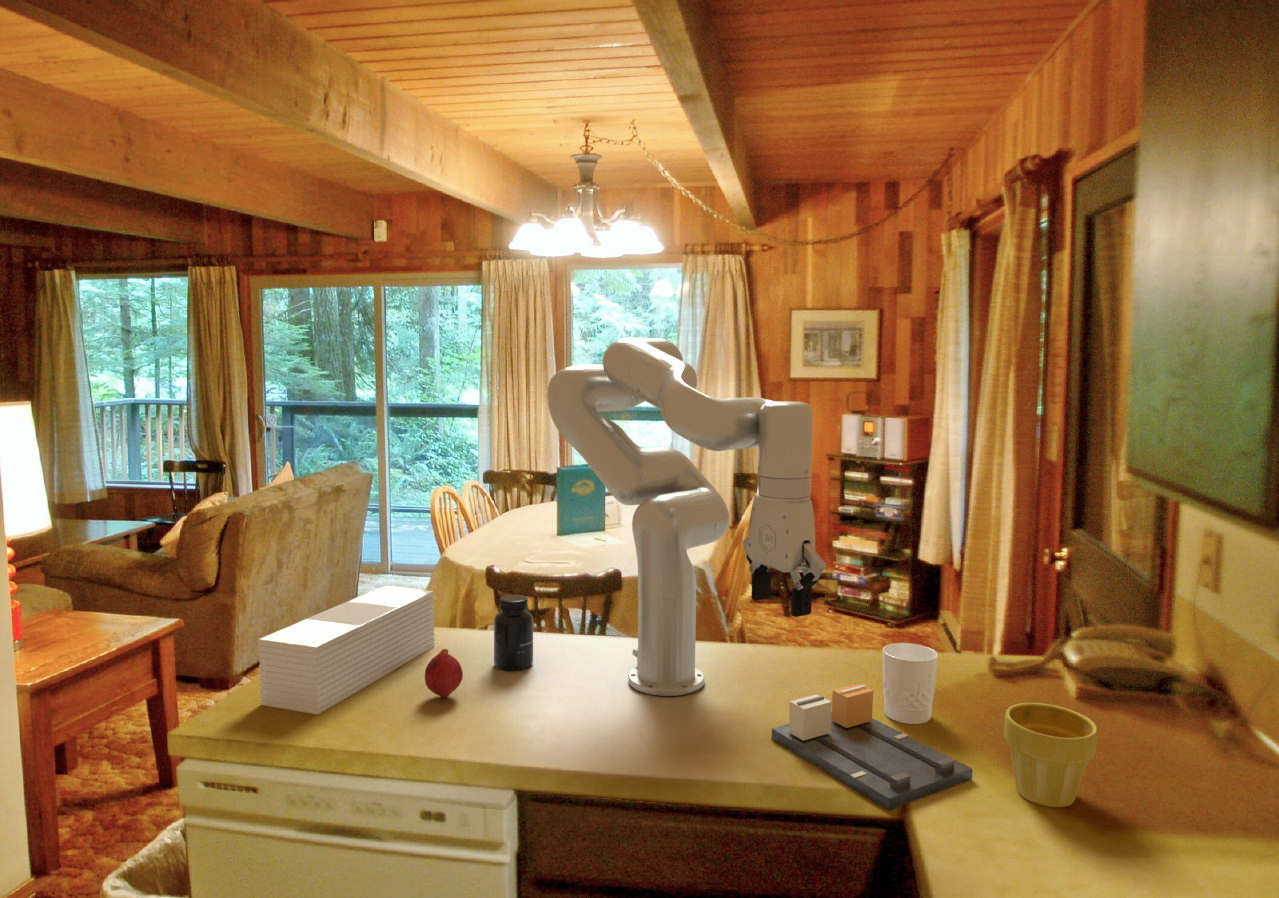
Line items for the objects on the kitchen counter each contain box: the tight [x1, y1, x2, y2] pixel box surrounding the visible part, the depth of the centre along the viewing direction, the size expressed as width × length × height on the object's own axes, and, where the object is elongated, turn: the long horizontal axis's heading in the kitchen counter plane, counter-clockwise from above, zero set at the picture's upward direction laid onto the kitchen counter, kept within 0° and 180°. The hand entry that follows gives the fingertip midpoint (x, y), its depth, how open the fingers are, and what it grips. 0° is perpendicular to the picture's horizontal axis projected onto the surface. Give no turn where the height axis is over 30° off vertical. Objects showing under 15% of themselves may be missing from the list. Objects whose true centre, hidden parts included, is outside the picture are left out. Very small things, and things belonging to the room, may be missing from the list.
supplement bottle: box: [493, 594, 534, 672], centre depth 148 cm, size 7×7×12 cm
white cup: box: [882, 642, 939, 725], centre depth 128 cm, size 8×8×10 cm
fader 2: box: [831, 683, 874, 728], centre depth 122 cm, size 3×5×5 cm, turn 120°
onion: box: [424, 647, 464, 699], centre depth 134 cm, size 6×6×8 cm
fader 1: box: [788, 693, 832, 741], centre depth 118 cm, size 3×5×5 cm, turn 120°
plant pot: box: [1003, 702, 1099, 808], centre depth 105 cm, size 10×10×10 cm
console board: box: [771, 711, 973, 811], centre depth 115 cm, size 22×15×3 cm
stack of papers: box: [257, 585, 436, 715], centre depth 144 cm, size 32×11×11 cm, turn 161°
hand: (780, 606), depth 123 cm, fingers open, 8 cm apart
